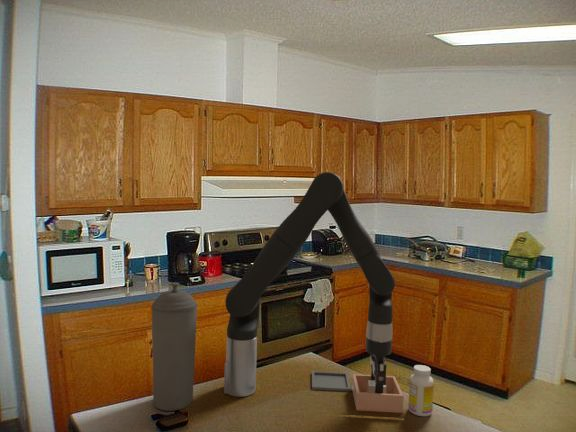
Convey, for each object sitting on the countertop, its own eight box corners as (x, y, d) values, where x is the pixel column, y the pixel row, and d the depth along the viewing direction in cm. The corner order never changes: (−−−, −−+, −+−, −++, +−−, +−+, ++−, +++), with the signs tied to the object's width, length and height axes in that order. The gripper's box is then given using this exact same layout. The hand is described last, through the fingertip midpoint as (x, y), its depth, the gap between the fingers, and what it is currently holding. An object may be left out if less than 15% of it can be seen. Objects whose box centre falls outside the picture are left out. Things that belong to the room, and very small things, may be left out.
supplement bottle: (433, 409, 131) (436, 366, 130) (430, 419, 125) (433, 374, 124) (410, 403, 134) (412, 361, 133) (406, 413, 128) (408, 369, 127)
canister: (201, 394, 136) (203, 279, 133) (187, 415, 123) (189, 289, 121) (160, 391, 137) (161, 277, 134) (142, 411, 124) (144, 286, 122)
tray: (311, 391, 140) (312, 386, 140) (311, 375, 152) (311, 370, 152) (350, 393, 140) (350, 388, 140) (347, 376, 152) (347, 372, 151)
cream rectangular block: (368, 402, 132) (369, 386, 132) (366, 396, 136) (367, 380, 136) (385, 403, 132) (386, 387, 132) (383, 397, 136) (384, 381, 136)
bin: (356, 412, 128) (357, 393, 128) (351, 391, 141) (352, 374, 141) (402, 414, 128) (403, 395, 127) (393, 393, 141) (394, 376, 140)
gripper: (363, 328, 140) (361, 378, 141) (369, 344, 126) (366, 400, 127) (387, 329, 140) (385, 380, 141) (396, 345, 126) (393, 401, 127)
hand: (376, 389), depth 134 cm, fingers open, 8 cm apart
